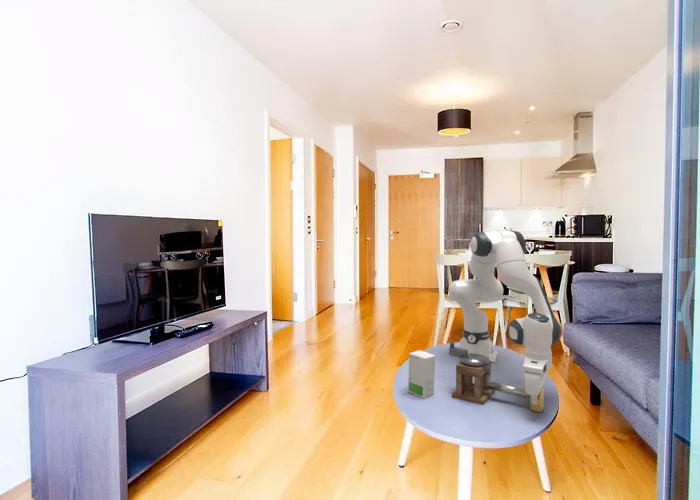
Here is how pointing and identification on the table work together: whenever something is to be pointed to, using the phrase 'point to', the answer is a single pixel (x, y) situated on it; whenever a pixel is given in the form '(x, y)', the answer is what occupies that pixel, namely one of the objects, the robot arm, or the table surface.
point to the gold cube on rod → (516, 392)
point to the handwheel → (468, 356)
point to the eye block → (465, 384)
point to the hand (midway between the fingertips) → (537, 399)
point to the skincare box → (421, 373)
